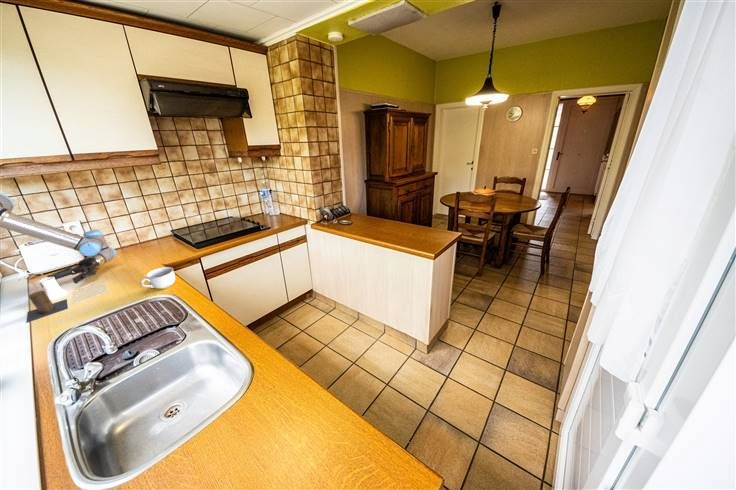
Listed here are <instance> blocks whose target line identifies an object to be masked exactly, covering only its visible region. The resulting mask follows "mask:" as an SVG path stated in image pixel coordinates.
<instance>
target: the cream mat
mask: <svg viewBox="0 0 736 490" xmlns="http://www.w3.org/2000/svg"><path fill="white" fill-rule="evenodd" d="M107 293H110V292H109V289H108V286H107V284H106V282H105V281H102V282H99V283H96V284H92V285H88V286H85V287H84V288H80V289H77V290H74V291H72V292H71V294H72V295H71V296H72V300H73V304H74V305H75V304H78V303H81V302H84V301H88V300H90V299H92V298H96V297H98V296H101V295H105V294H107Z"/></svg>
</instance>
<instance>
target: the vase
mask: <svg viewBox="0 0 736 490" xmlns="http://www.w3.org/2000/svg"><path fill="white" fill-rule="evenodd" d="M38 282H39V284H40V283H41V284H42V286H43V287H42V286H41V287H42V288H43V289H44V291H45V293H46V294H47V296H48V297H49V299H50V300H51V301H54V300H58V299H60V298H63V297H65V296H67V295H68V294H69V291H67V290H65V289H63V288H62V287H61V286H60V284H59V283H58V282H57V280H55V277H45V278H42V279H41V280H39V281H38ZM41 284H40V285H41Z"/></svg>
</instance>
